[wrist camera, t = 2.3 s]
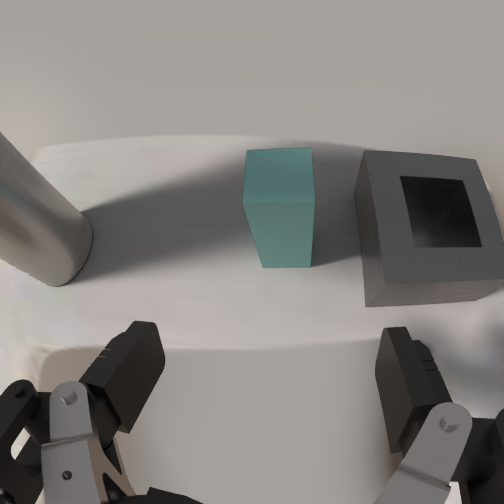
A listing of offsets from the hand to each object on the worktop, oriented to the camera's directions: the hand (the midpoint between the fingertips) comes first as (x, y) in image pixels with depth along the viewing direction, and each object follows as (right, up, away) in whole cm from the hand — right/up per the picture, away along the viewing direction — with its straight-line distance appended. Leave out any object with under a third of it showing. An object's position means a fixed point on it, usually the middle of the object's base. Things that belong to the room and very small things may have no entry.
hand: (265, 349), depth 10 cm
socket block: (+14, +4, +14) cm, 21 cm away
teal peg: (+3, +4, +16) cm, 17 cm away
